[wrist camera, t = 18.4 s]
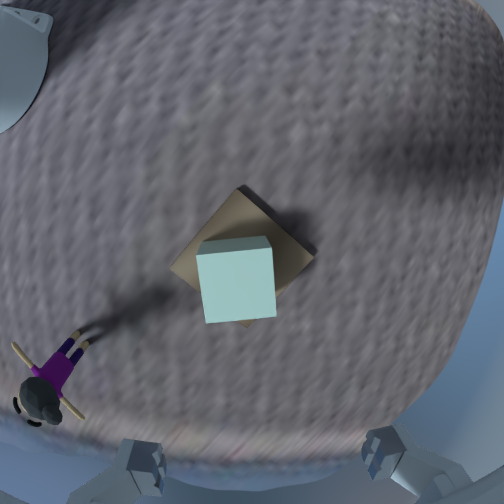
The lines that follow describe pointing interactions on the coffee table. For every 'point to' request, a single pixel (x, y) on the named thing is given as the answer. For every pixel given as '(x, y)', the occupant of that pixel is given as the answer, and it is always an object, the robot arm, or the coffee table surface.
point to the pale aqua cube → (236, 279)
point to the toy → (49, 384)
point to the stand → (238, 226)
